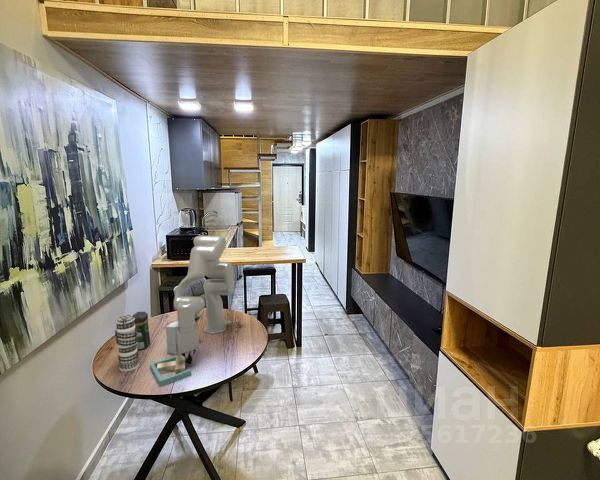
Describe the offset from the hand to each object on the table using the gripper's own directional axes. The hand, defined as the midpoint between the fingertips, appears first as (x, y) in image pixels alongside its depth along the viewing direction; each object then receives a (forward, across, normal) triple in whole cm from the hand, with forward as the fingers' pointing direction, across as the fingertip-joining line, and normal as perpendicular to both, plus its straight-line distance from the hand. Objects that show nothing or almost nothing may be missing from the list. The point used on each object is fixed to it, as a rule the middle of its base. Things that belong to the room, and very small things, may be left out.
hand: (189, 363), depth 154 cm
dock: (+1, +8, 0) cm, 8 cm away
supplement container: (+2, -20, -55) cm, 59 cm away
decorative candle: (+1, +23, -17) cm, 29 cm away
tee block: (+1, +8, -2) cm, 8 cm away
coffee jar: (+1, +14, -35) cm, 38 cm away
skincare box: (+1, 0, -19) cm, 19 cm away
